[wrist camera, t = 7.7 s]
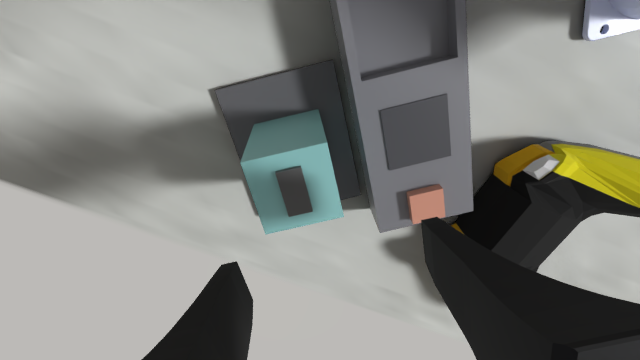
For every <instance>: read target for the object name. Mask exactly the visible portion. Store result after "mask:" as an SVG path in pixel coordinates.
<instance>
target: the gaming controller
mask: <svg viewBox="0 0 640 360" xmlns="http://www.w3.org/2000/svg"><path fill="white" fill-rule="evenodd" d="M600 213H612V214H619V215H627V216H634V217H640V157H637V156H633V155H629V154H625V153H621V152H617V151H613V150H609V149H605V148H601V147H597V146H593V145H588V144H580V143H571V142H563V141H544V142H542V143H541V144H532V145H530V146H528V147H526V148H524V149H522V150H520V151H518V152H516V153H514V154H512V155H510V156H508V157H506V158H504V159H502V160H501V161H499V162H498V163H496V164H495V167H494V173H493V174H492V175H491V176H490V178H489V179H488V180H487V182H486V183H485V184H484V186H483V187H482V188H481V189H480V191H479V192H478V193H477V195H476V196H475V197H474V199H473V211H471V212H467V213H463V214H461V216H460V217H459V218H458V219H457V221H456V223H455V224H453V225H451V226H452V227H453V228H455V229H456V230H458V231H459V232H461V233H462V234H464V235H466V236H467V237H469V238H470V239H472V240H474V241H475V242H477V243H478V244H480V245H482V246H483V247H485V248H487V249H489V250H491V251H492V252H494V253H496V254H498V255H500V256H502V257H504V258H506V259H508V260H510V261H512V262H514V263H516V264H518V265H520V266H523V267H525V268H527V269H529V270H532V271H534V272H537V270H538V267H539V266H540V265H541V263H542V262H543V261H544V260H545V259H546V258H547V257H548V256H549V255H550V254H551V253H552V252H553V251H554V250H555V249H556V247H557V246H558V245H559V244H560V243H561V242H562V241H563V240H564V239H565V238H566V237H567V236H568V235H569V234H570V233H571V231H572V230H573V229H574V228H575V227H576V226H577V225H578V224H579V223H580V222H581V221H583V220H585V219H586V218H588V217H590V216H592V215H596V214H600Z"/></svg>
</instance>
